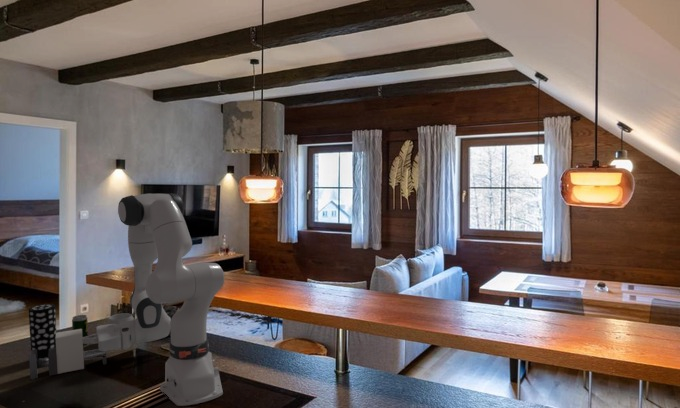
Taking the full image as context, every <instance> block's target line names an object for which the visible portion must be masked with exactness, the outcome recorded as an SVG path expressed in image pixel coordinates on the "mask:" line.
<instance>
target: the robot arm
mask: <svg viewBox="0 0 680 408" xmlns="http://www.w3.org/2000/svg"><path fill="white" fill-rule="evenodd" d="M184 211H185V205H184V202H183V199H182V198H181V196H180V195H179V194H178V193H172V192H171V193H170V192H168V193H141V194H136V195H128V196H125V197H122V198H121V199H120V200H119V202H118V207H117V214H118V216H119V217H118V218H119V221H120V222H122V224H124V225H125V226H128V229H127V244H128V251H129V256H130V259H131V262H132V264H133V268H134V269H133V271H134V272H133V273H134V274H133V275H134V288H133V291H132V293H131V296H130V299H129V304H130V307H131V309H132V310H133V312H134V314H135V315H134V316H135V318H134V319H135V320H131V321H125V322H120V323H119V326H118V325H117V324H109V323H108V324H100V325H98V326H96V327H95V333H92V334H89V335H88V336H86V337H83V344H88V345H89V344H91V345H95V344H97V345H98V346H97V347H98V349H99V351H106V352H110V351H116V350H120V349H122V350H124V351H125V350H129V348H131V346H132V345H136V344H139V343H143V342H145V343H148V342H154V341H157V340H161V339H165V338H166V337H168V336H170V342H169V347H168V348H169V355H170V356H169V357H168V359H167V360H166V361H165V366H164V369H165V370H164V371H165V373H164V375H165V377H164V383H162V384H160V386H159V390H161V392H162V393H163V392H164V393H165V394H166V395H167V396H168V397H169V398H168V397H167V396H166V395H165V394H164V393H163V394H164V395H165V396H166V397H167V398H168V399H169V400H170V401H171V402H172V403H174V405H175V406H178V407H180V406H181V407H182V406H183V407H185V406H191V405H192V406H193V405H199V404H200V403H207V402H209V401H212V400H215V399H217V398H219V397H221V396H222V395H223V394H224V392H223V387H222V382H221V377H220V368H219V366H215V367H214V365H215V364H216V359H213V354H212V352H210V348H209V345H210V344H209V339H208V336H207V321H208V320H207V319H208V312H209V309H210V305H211V304H212V301H213V300H214V298H215V296H216V295H217V294H218V293H219V291H220V290H221V289H222V288H223V286H224V284H225V279H226V278H225V273H224V270H223V268H222V266H220V264H218V263H216V262H205V261H204V262H197V263H191V264H184V263H183V258H184V257H185V256H186V255H187V254H188V253H189V252H190V251H191V250H192V246H193V240H192V237H191V235H190V232H189V229H188V225H187V222H186V220H185V217H184ZM154 262H156V265H155V268H154V270H153V264H154ZM152 270H153V271H152ZM182 301H183V304H182V306H181V307H179V310H178V311H177V312H176V313H175V314H174V315H173V316H172V318H170V317H169V316H168V315H167V314H166V312H165V310H164V309H163V308H164V306H163V304H164V305H165V304H166V305H167V304H173V303H178V302H182ZM170 331H171V335H169V333H170Z"/></svg>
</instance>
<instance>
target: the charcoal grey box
mask: <svg viewBox="0 0 680 408" xmlns="http://www.w3.org/2000/svg"><path fill="white" fill-rule="evenodd" d="M48 361H49V367H48V373H49V374H48V375H49V377H50V376H55V375H59V374H58V373H57V355H56V348H52V349H49V353H48Z"/></svg>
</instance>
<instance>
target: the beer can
mask: <svg viewBox="0 0 680 408" xmlns="http://www.w3.org/2000/svg"><path fill="white" fill-rule="evenodd" d="M71 325H72V326H71V328H72V329H71V330H77V329H82V337H86V336H89V327H88V326H89V325H88V317H87V315H86V314H80V315H79V314H78V315H75V316H73V317H72V319H71ZM88 346H89V344H83V348H85V347H88Z"/></svg>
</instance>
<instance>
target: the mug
mask: <svg viewBox="0 0 680 408" xmlns="http://www.w3.org/2000/svg"><path fill="white" fill-rule="evenodd" d="M135 319H136V318H135V317H133V314H132V313H128V312H127V313H116V314H113V315H111V316H109V317H108V324H117V325H118V326H119V323H120V322H125V321H131V320H135Z"/></svg>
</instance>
